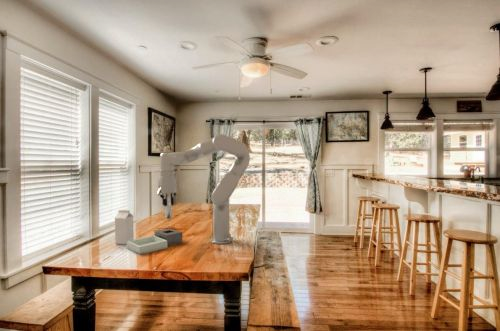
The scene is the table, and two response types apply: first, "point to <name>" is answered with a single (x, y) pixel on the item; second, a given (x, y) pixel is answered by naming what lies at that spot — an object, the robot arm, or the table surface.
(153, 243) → the tray
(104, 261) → the table surface
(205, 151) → the robot arm
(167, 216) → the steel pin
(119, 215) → the milk carton
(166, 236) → the hitch block
